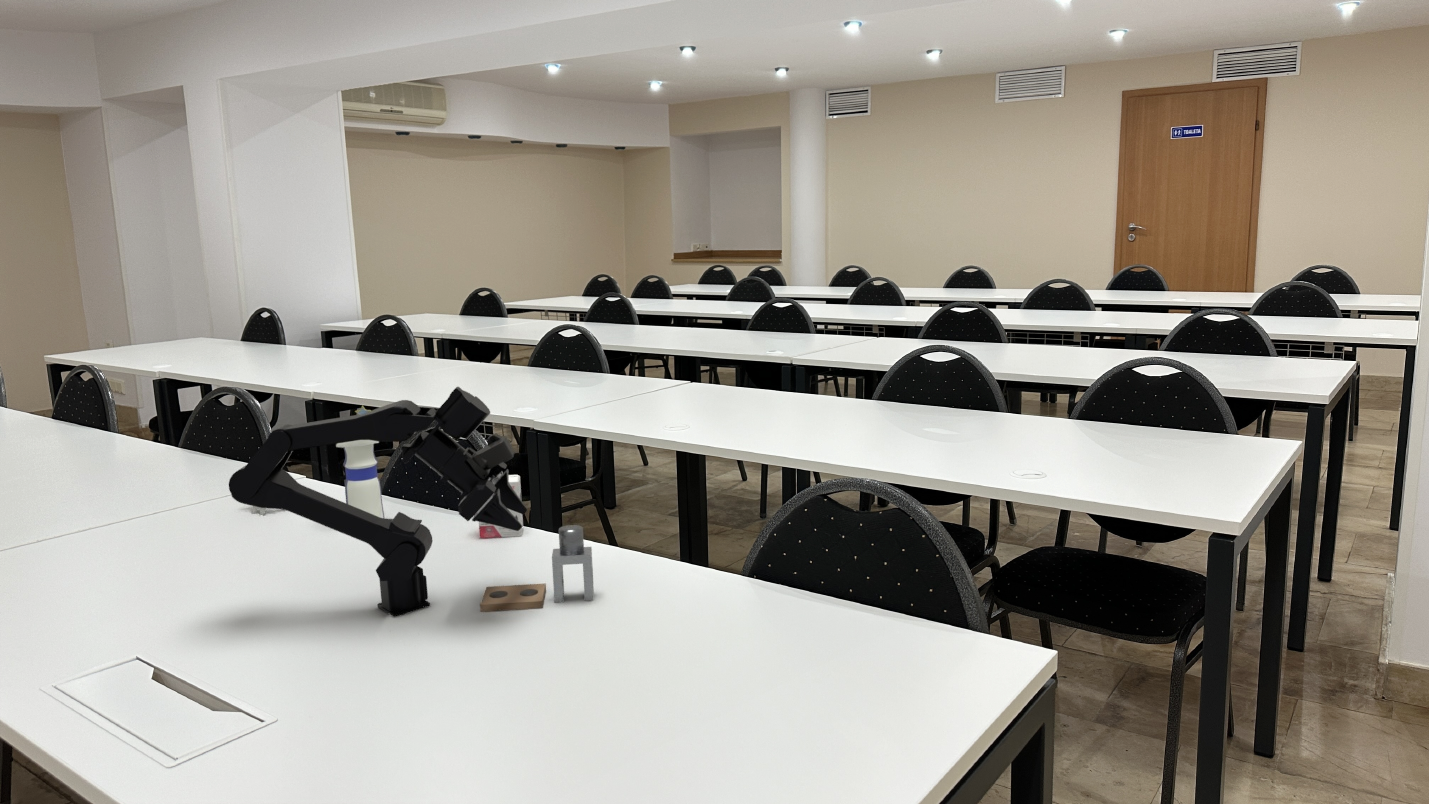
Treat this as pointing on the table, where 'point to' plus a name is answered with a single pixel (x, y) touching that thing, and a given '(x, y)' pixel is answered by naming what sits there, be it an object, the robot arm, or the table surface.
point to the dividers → (572, 560)
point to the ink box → (497, 531)
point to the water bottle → (362, 475)
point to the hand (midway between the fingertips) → (523, 520)
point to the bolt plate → (513, 597)
